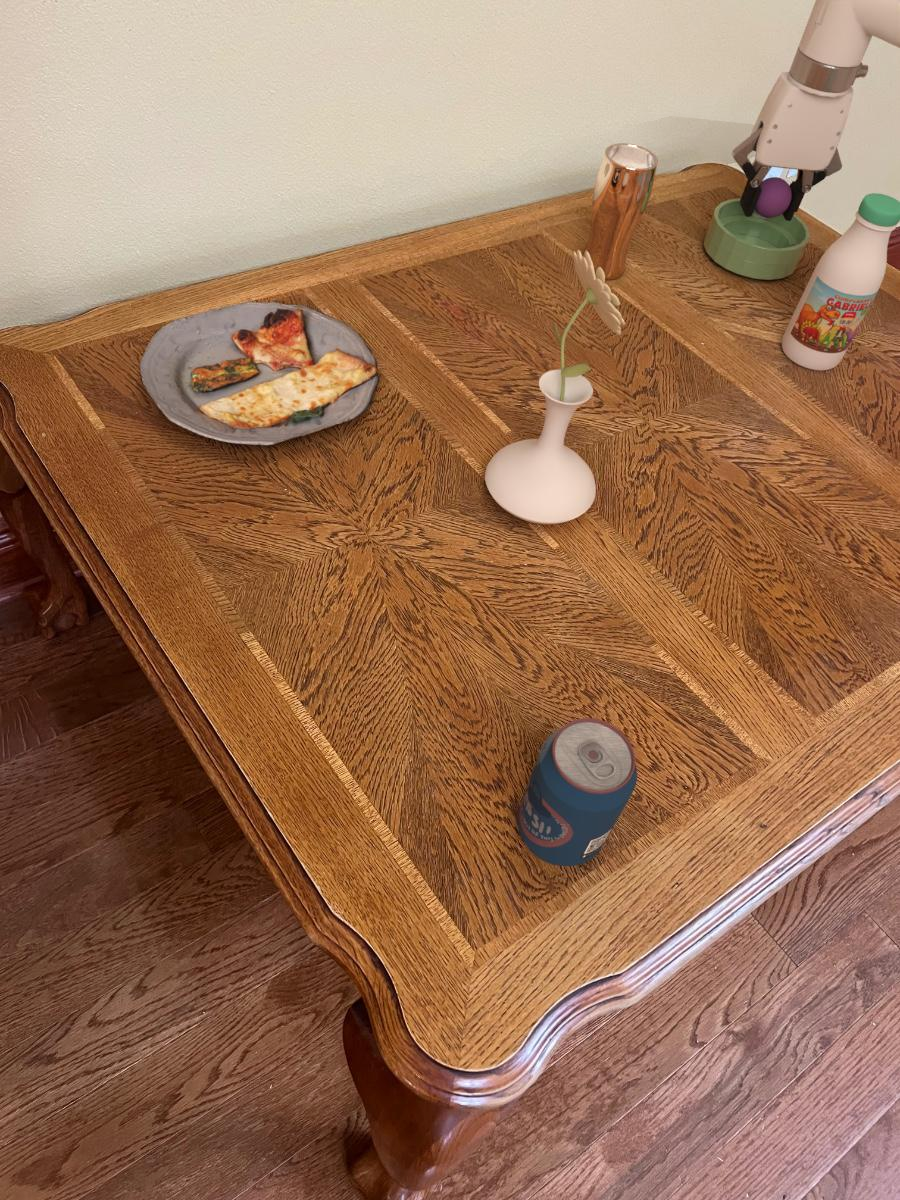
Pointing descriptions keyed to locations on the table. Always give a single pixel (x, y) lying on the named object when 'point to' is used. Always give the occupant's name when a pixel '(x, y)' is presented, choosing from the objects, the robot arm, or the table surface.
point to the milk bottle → (842, 287)
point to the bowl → (755, 242)
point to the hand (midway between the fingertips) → (765, 212)
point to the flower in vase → (555, 430)
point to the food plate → (259, 372)
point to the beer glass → (619, 205)
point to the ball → (773, 197)
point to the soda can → (577, 791)
